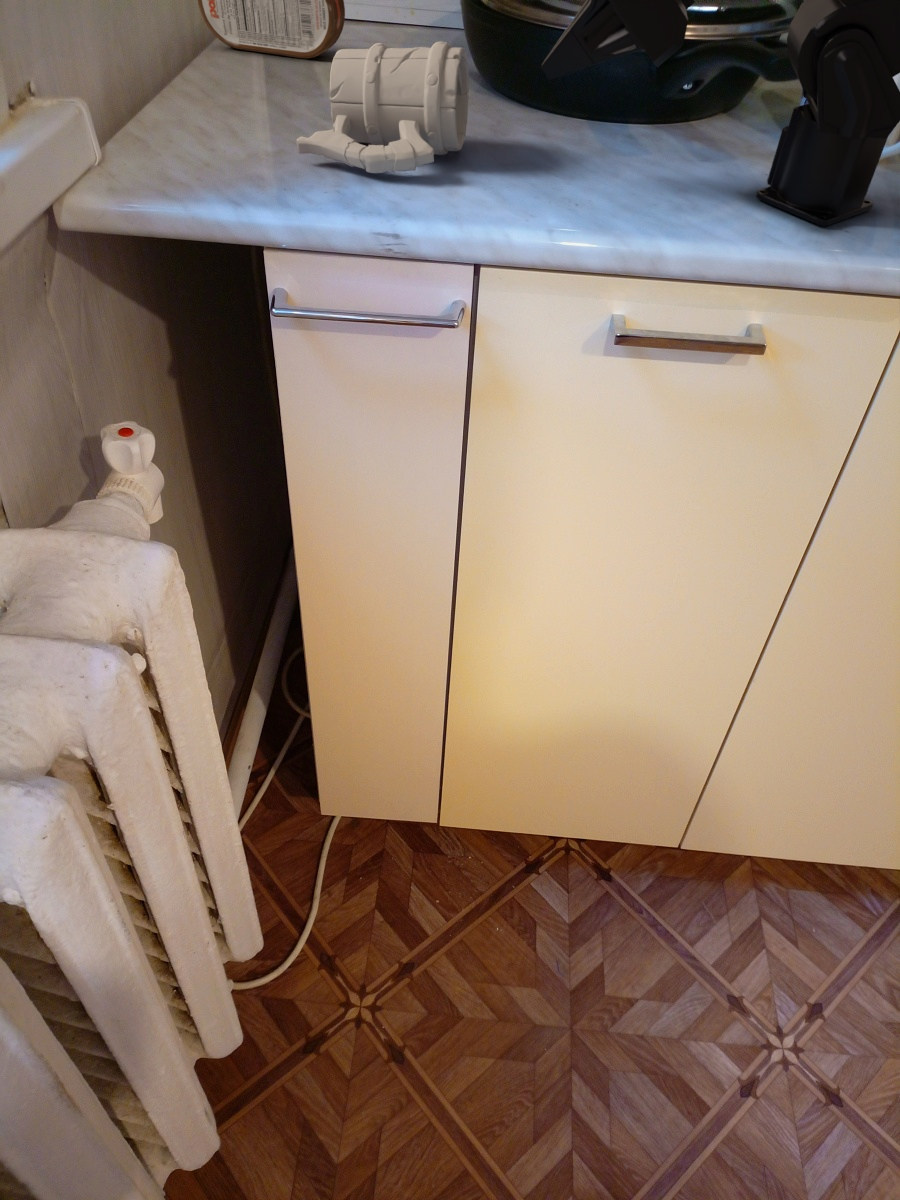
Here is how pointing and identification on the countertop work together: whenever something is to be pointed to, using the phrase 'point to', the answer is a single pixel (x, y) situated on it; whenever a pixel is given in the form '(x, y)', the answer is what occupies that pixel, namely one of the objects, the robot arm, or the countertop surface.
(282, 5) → the tin
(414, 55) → the mug
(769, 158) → the countertop surface
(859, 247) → the countertop surface
